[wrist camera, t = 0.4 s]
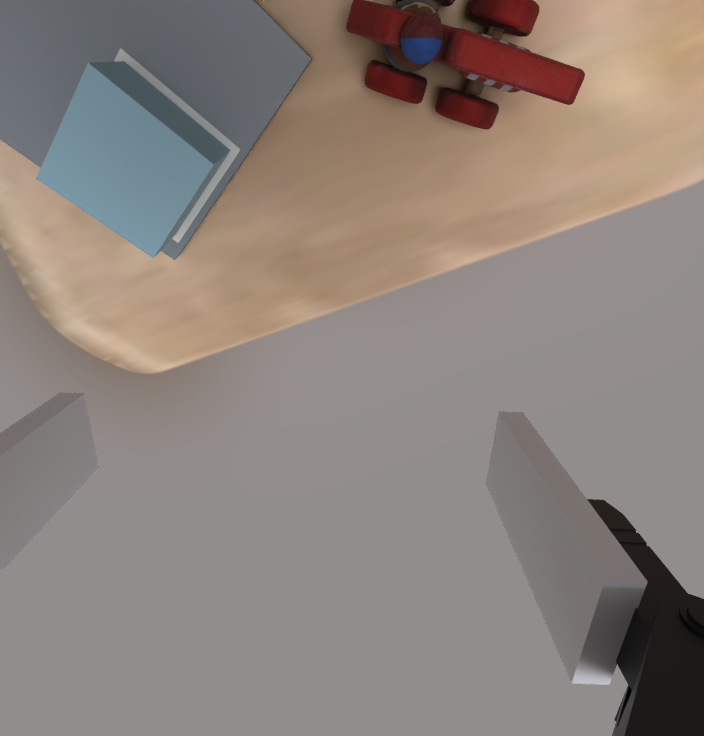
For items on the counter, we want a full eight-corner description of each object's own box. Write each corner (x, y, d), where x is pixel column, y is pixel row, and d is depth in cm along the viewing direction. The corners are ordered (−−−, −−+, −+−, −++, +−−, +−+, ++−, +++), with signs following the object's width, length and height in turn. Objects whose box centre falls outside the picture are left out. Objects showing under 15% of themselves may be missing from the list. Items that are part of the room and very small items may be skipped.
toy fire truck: (365, -56, 27) (374, -106, 19) (548, 17, 29) (632, 3, 21) (335, 76, 31) (331, 85, 22) (499, 133, 33) (552, 161, 24)
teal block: (124, 61, 29) (88, 62, 25) (230, 150, 32) (213, 164, 28) (75, 162, 32) (36, 178, 28) (175, 234, 36) (153, 258, 31)
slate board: (-3, -261, 23) (-21, -276, 21) (312, 58, 30) (311, 58, 29) (-90, 66, 30) (-106, 67, 29) (179, 254, 38) (174, 260, 37)
